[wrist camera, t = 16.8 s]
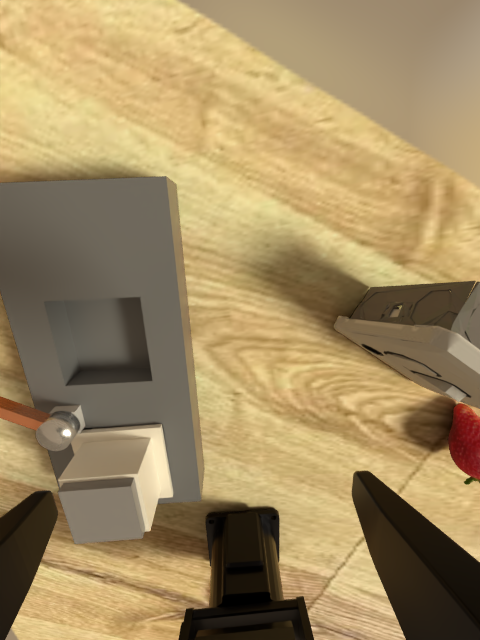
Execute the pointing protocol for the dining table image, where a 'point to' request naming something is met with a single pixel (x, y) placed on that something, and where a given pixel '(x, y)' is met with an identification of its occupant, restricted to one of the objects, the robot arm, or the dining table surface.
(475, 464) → the fruit
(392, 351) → the electrical switch
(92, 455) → the plug
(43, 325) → the grey socket base
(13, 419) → the copper link
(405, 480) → the dining table surface
